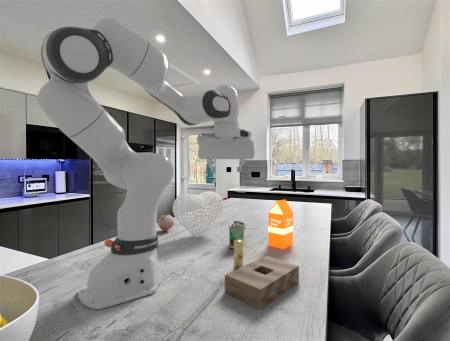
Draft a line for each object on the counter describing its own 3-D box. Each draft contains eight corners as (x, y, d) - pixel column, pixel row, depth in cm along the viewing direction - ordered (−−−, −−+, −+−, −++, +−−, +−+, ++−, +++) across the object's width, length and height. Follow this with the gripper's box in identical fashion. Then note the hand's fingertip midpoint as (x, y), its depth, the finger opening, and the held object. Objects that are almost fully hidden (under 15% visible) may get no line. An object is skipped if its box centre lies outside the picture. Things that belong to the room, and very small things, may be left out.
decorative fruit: (171, 233, 129) (171, 214, 129) (156, 233, 129) (156, 214, 129) (175, 229, 138) (175, 211, 138) (161, 229, 138) (161, 211, 138)
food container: (243, 251, 102) (243, 227, 102) (229, 250, 104) (229, 226, 103) (247, 242, 114) (247, 221, 114) (233, 241, 116) (234, 220, 116)
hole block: (260, 309, 61) (260, 289, 61) (224, 292, 69) (224, 274, 69) (298, 282, 76) (298, 265, 75) (265, 270, 84) (265, 256, 84)
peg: (238, 272, 82) (238, 242, 82) (232, 270, 84) (232, 240, 84) (244, 270, 84) (244, 240, 84) (237, 267, 86) (237, 238, 86)
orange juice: (293, 244, 112) (293, 200, 112) (283, 249, 106) (283, 202, 105) (277, 240, 118) (278, 198, 117) (267, 245, 111) (268, 200, 111)
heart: (187, 247, 107) (188, 196, 107) (165, 240, 117) (165, 193, 117) (229, 234, 128) (229, 191, 128) (207, 229, 138) (207, 189, 138)
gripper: (197, 131, 84) (197, 172, 85) (255, 132, 88) (255, 172, 88) (196, 133, 91) (196, 171, 91) (251, 135, 94) (251, 171, 94)
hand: (226, 171), depth 89 cm, fingers open, 8 cm apart
